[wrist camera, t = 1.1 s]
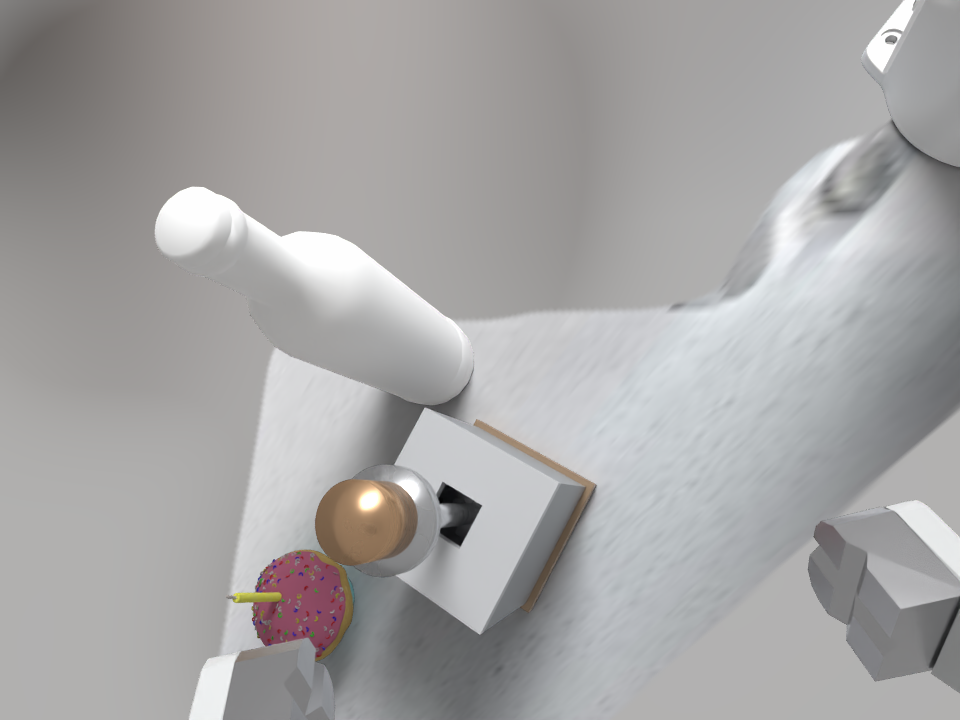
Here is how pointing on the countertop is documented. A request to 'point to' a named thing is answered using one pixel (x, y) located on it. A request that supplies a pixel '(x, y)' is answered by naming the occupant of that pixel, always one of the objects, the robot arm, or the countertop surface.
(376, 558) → the plunger
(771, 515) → the countertop surface
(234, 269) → the bottle
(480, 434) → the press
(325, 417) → the countertop surface
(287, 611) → the cupcake
